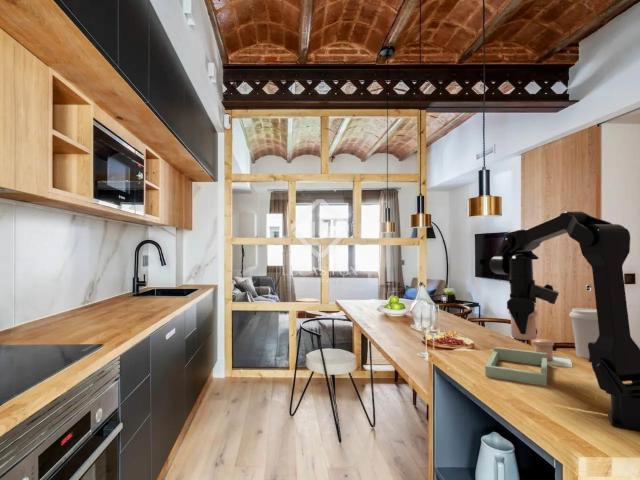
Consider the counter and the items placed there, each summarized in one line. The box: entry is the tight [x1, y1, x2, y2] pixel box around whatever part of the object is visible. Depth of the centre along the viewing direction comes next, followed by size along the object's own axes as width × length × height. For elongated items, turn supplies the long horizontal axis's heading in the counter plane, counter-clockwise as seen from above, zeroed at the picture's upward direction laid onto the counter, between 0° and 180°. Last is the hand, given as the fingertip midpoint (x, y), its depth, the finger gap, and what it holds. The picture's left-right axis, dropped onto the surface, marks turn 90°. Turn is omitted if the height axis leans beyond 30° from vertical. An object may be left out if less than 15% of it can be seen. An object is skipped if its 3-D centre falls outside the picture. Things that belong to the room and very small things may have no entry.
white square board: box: [547, 355, 573, 369], centre depth 108 cm, size 10×12×1 cm
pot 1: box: [507, 309, 538, 341], centre depth 98 cm, size 7×7×7 cm
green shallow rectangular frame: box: [484, 346, 548, 387], centre depth 99 cm, size 18×14×4 cm
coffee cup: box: [569, 307, 599, 360], centre depth 110 cm, size 10×10×15 cm
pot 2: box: [531, 337, 555, 361], centre depth 109 cm, size 6×6×6 cm
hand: (523, 331), depth 98 cm, fingers closed on pot 1, 6 cm apart
